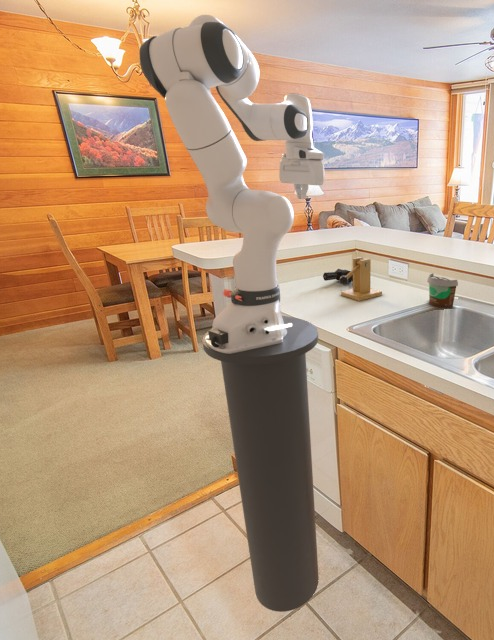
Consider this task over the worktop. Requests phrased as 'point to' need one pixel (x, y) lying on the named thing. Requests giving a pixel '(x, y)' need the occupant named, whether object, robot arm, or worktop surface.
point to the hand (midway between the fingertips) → (301, 198)
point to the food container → (441, 291)
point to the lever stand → (361, 282)
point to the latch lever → (349, 274)
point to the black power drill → (337, 275)
